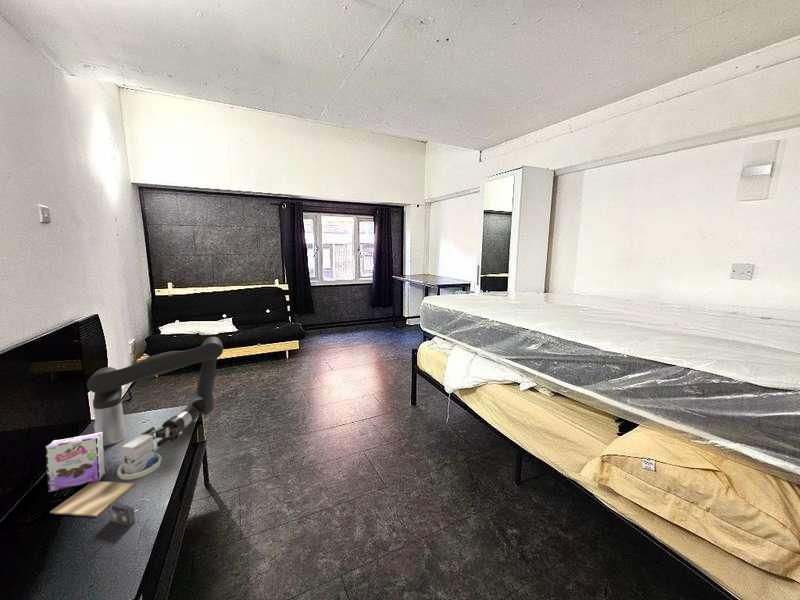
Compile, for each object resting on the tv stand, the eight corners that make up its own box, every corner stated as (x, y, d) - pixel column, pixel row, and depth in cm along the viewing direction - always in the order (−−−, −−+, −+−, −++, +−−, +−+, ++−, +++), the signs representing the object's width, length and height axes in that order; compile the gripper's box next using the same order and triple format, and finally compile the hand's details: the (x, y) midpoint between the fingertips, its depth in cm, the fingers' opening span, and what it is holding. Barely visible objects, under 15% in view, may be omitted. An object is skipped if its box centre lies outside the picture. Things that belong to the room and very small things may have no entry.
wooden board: (49, 513, 103) (49, 511, 102) (93, 482, 116) (93, 480, 116) (96, 516, 102) (96, 515, 102) (134, 485, 116) (134, 483, 115)
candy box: (47, 493, 110) (44, 446, 109) (56, 484, 115) (53, 439, 115) (99, 480, 116) (96, 437, 116) (105, 473, 121) (102, 431, 121)
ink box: (145, 459, 129) (143, 433, 128) (156, 461, 128) (153, 435, 127) (124, 474, 121) (120, 446, 119) (134, 476, 120) (131, 448, 118)
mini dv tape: (135, 522, 100) (133, 506, 99) (130, 526, 99) (128, 509, 98) (115, 517, 102) (113, 500, 101) (110, 520, 100) (108, 504, 100)
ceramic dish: (108, 478, 119) (108, 474, 118) (139, 456, 132) (138, 452, 131) (141, 480, 118) (141, 476, 118) (169, 457, 131) (169, 453, 131)
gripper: (161, 414, 144) (130, 435, 127) (192, 416, 143) (163, 436, 127) (163, 430, 145) (131, 452, 129) (193, 431, 144) (165, 453, 128)
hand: (147, 444), depth 128 cm, fingers open, 8 cm apart
